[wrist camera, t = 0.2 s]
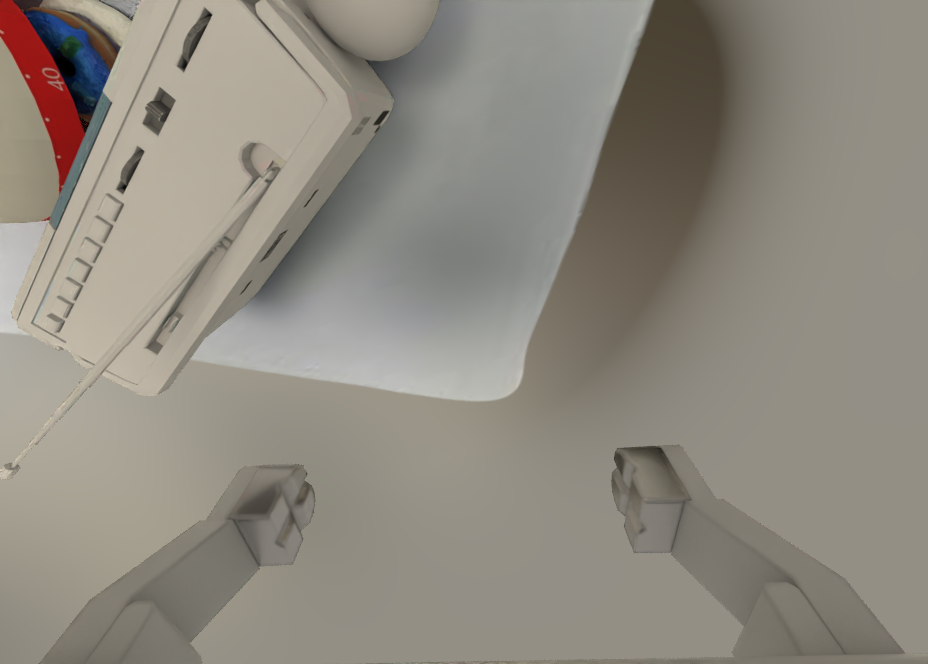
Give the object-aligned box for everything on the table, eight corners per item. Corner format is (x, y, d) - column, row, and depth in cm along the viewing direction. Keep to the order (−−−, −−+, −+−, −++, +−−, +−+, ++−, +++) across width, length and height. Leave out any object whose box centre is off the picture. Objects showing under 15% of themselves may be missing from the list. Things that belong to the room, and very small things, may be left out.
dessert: (5, 61, 25) (-58, 3, 20) (95, 5, 26) (58, -62, 21) (130, 167, 28) (104, 142, 23) (202, 112, 30) (193, 77, 25)
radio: (311, -1, 24) (-153, -347, 6) (415, 107, 26) (300, 82, 9) (167, 245, 31) (-228, 408, 14) (259, 310, 34) (27, 518, 16)
